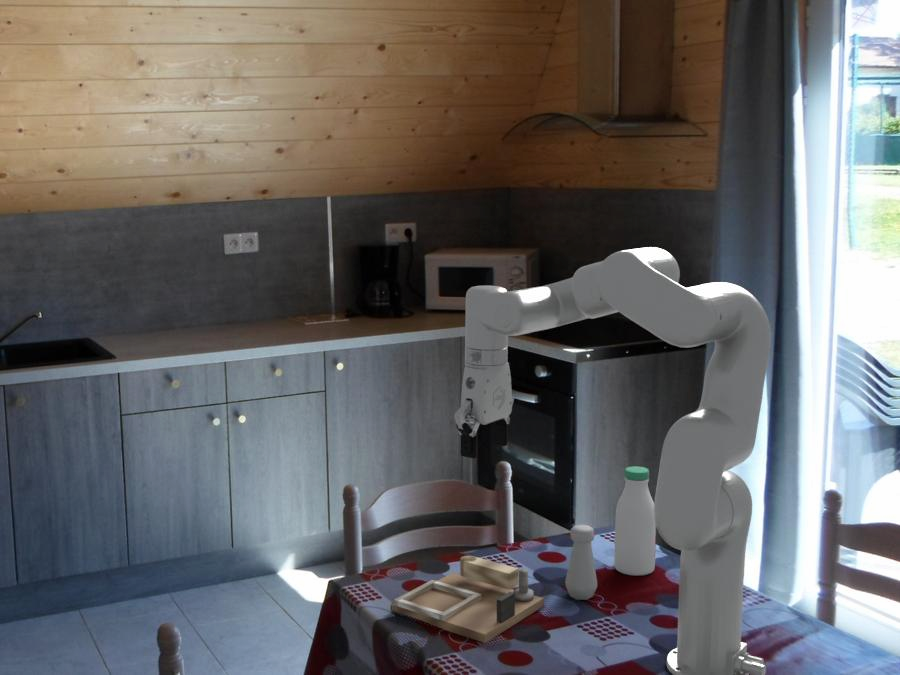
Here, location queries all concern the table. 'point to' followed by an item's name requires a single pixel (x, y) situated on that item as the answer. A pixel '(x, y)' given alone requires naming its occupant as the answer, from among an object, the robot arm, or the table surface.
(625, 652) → the table surface
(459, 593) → the wooden activity board
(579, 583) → the salt shaker
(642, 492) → the milk bottle
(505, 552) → the table surface
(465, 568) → the leg
